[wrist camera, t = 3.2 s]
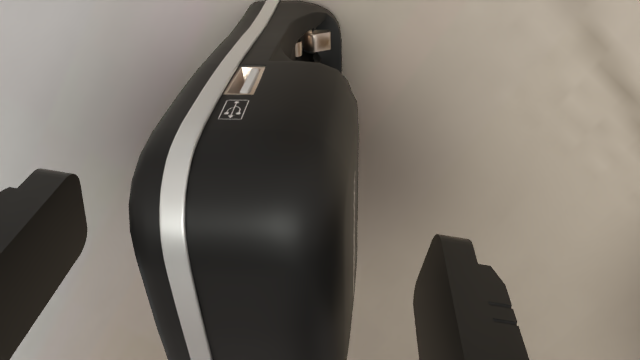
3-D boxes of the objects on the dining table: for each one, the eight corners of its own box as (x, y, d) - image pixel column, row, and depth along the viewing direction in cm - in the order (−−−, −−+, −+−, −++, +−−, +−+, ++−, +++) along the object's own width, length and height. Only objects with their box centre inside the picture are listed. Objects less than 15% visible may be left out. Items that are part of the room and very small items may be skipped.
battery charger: (359, 167, 20) (352, 447, 11) (268, 166, 21) (183, 437, 11) (362, -11, 16) (354, 184, 7) (249, -9, 17) (94, 179, 7)
